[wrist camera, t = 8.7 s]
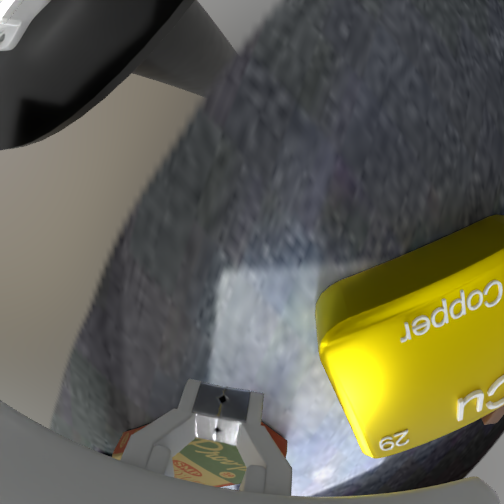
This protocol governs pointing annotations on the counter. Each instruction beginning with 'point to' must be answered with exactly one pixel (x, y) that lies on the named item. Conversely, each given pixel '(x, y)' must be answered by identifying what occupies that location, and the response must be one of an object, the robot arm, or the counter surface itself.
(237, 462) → the carton
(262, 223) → the counter surface
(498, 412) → the back rail
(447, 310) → the element tile
